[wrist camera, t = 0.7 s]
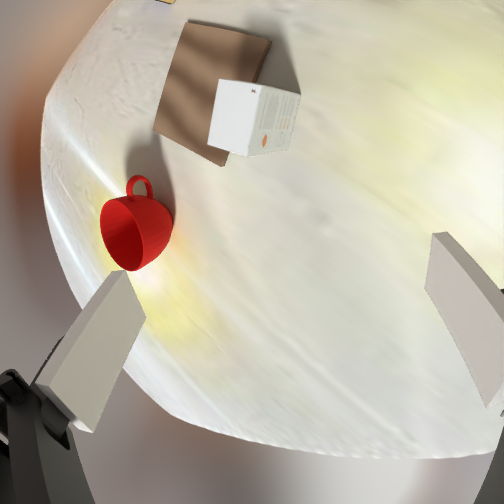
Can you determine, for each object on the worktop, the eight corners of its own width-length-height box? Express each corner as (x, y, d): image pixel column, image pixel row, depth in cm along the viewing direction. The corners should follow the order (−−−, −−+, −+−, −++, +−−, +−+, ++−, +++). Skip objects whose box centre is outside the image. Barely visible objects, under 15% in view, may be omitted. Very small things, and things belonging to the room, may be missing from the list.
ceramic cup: (195, 181, 48) (149, 194, 40) (180, 263, 57) (142, 285, 49) (145, 157, 52) (101, 166, 44) (137, 233, 61) (99, 249, 53)
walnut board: (189, 23, 37) (185, 22, 36) (271, 41, 33) (268, 39, 32) (156, 129, 48) (152, 129, 47) (224, 166, 44) (220, 166, 43)
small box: (264, 86, 36) (217, 76, 28) (302, 94, 34) (263, 83, 26) (252, 140, 40) (204, 145, 32) (288, 151, 38) (246, 158, 30)
